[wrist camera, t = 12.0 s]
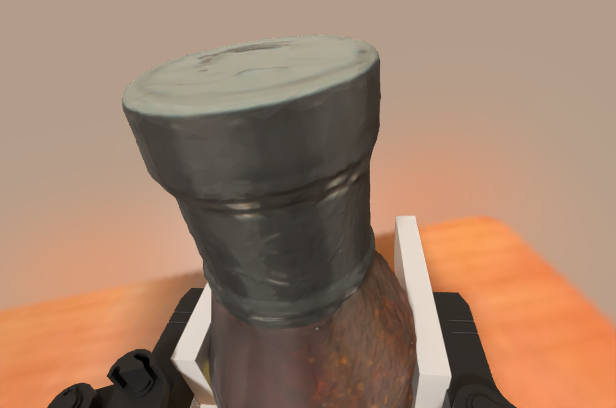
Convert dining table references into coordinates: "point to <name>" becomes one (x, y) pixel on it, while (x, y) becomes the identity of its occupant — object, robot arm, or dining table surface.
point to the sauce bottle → (282, 218)
